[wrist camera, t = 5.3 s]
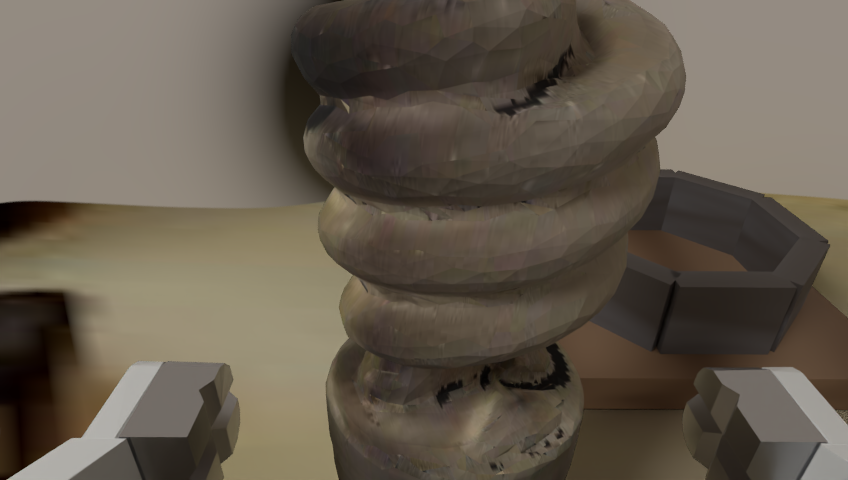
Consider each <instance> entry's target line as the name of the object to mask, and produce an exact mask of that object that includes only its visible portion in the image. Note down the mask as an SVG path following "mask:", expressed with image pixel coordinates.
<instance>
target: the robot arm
mask: <svg viewBox="0 0 848 480" xmlns="http://www.w3.org/2000/svg"><path fill="white" fill-rule="evenodd" d="M232 382H233V376H232V373H231V369H230V366H229V365H227V364H225V363H202V362H172V361H168V362H152V361H138V362H136V363H134V364H133V365H131V366H130V367H129V368H128V370H127V371H126V373H125V374H124V376H123V377H122V379H121V380H120V382H119V383H118V385H117V386H116V388H115V389H114V391H113V392H112V393H111V395H110V396H109V398H108V399H107V401H106V402H105V404H104V405H103V407H102V408H101V410H100V411H99V413H98V414H97V416H96V417H95V419H94V420H93V422H92V423H91V425H90V426H89V427H88V429H87V430H86V432H85V433H84V435H83V436H82V438H71V439H70V440H68V441H67V442H65V443H64V444H62V445H60V446H59V447H57V448H56V449H54V450H53V451H51V452H49V453H48V454H46V455H45V456H43V457H42V458H40V459H39V460H37V461H35V462H34V463H32V464H31V465H29V466H28V467H26V468H25V469H23V470H21V471H20V472H18V473H17V474H15V475H14V476H12V477H11V478H9V479H7V480H223V479H224V476H223V472H222V468H221V463H223V462H224V461H225V460H226V459H227V458H228V457H230V456H231V455H232V454H233V451H234V448H235V445H236V442H237V439H238V433H239V426H240V408H239V403H238V399H237V398H236V397H235V396H234V395H233V394H232V393H230V392H229V390H230V387H231V385H232ZM694 386H695V388H696V389H697V391H698V393H699V394H697V395H696V396H695V397H693V398H692V399H691V400H689V401H688V402H687V403H686V406H685V409H684V413H683V416H682V422H683V434H684V438H685V441H686V445H687V447H688V449H689V451H690V453H691V455H692V457H693V458H694V459H695V460H697V461H698V462H699V463H701V464H702V465H703V466H704V467H706V468H707V469H708V470H707V474H706V478H705V480H848V425H847V424H846V423H845V421H844V420H843V419H842V418H841V417H840V416H839V414H838V413H837V412H836V411H835V410H834V409H833V408H832V406H831V405H830V404H829V403H828V402H827V401H826V400H825V398H824V397H823V396H822V395H821V394H820V393H819V391H818V390H817V389H816V388H815V387H814V386H813V385H812V383H811V382H810V381H809V380H808V379H807V378H806V377H805V375H804V374H803V373H802V372H800V371H799V370H797V369H795V368H793V367H762V368H758V367H704V368H703V369H702V370H700V371H699V372H698V373H697V376H696V379H695V381H694Z"/></svg>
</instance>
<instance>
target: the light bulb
mask: <svg viewBox="0 0 848 480" xmlns="http://www.w3.org/2000/svg"><path fill="white" fill-rule="evenodd" d="M291 43H292V44H291V45H292V56H293V58H294V59H295V61H296V63H297V65H298V67H299V69H300V71H301V73H302V75H303V77H304V78H305V79H306V81H307V82H308V83H309V84H310V85H311V86H312V87H313V88H314V89H315V91H316V92H317V93H318V94H319V95H320V100H321V104H320V105H319V106H318V108H317V109H316V110H315V111H314V112H313V114H312V115H311V116H310V117H309V119H308V121H307V124H306V128H305V132H304V148H305V153H306V155H307V157H308V159H309V161H310V162H311V164H312V166H313V167H314V169H315V170H316V171H317V172H318V173H319V174H320V175H321V176H322V177H323V178H324V179H325V180H326V181H328V182H329V183H330V184H331V185H333V186H334V189H333V190H332V192H331V194H330V195H329V197H328V198H327V200H326V201H325V203H324V205H323V207H322V209H321V211H320V213H319V218H318V233H319V237H320V241H321V242H322V244H323V246H324V248H325V250H326V252H327V253H328V255H329V256H330V257H331V258H332V259H333V260H334V261H335V262H336V263H337V264H338V265H340V266H341V267H343V268H344V269H345V270H347V271H348V272H350V273H351V274H352V275H353V276H352V278H351V279H350V281H349V282H348V284H347V285H346V287H345V288H344V291H343V294H342V296H341V300H340V305H339V310H340V314H341V318H342V322H343V325H344V328H345V331H346V333H347V335H348V337H349V339H348V340H347V341H346V342H345V343H344V344H343V345H342V347H341V348H340V349H339V351H338V353H337V355H336V356H335V358H334V360H333V361H332V364H331V367H330V371H329V374H328V378H327V381H326V400H327V412H328V421H329V431H330V437H331V440H332V444H333V451H334V460H335V465H336V469H337V474H338V478H339V480H565V478H566V476H567V473H568V470H569V468H570V465H571V461H572V457H573V454H574V450H575V446H576V443H577V439H578V433H579V429H580V425H581V421H582V417H583V409H584V394H583V387H582V384H581V380H580V377H579V374H578V372H577V370H576V368H575V366H574V365H573V363H572V361H571V359H570V357H569V355H568V353H567V352H566V351H565V349H564V348H563V347H562V346H561V345H560V343H559V342H558V340H560V339H562V338H564V337H565V336H567V335H569V334H570V333H572V332H574V331H575V330H577V329H579V328H581V327H582V326H583V325H584V324H586V323H587V322H588V321H589V320H590V319H592V318H593V317H594V316H595V315H596V314H598V313H599V312H600V311H601V310H602V309H603V308H604V306H605V305H606V304H607V303H608V301H609V300H610V299H611V298H612V296H613V295H614V294H615V292H616V290H617V288H618V285H619V283H620V281H621V278H622V276H623V274H624V271H625V269H626V266H627V251H628V231H629V230H630V229H631V228H632V227H633V226H634V225H635V224H636V223H637V222H638V221H639V220H640V219H641V218H642V216H643V214H644V212H645V211H646V209H647V207H648V206H649V204H650V202H651V200H652V199H653V196H654V192H655V189H656V185H657V181H658V178H659V174H660V162H659V152H658V145H657V140H656V138H655V136H657V135H658V134H659V133H660V132H661V131H662V130H663V129H665V128H666V127H667V125H668V123H669V122H670V120H671V119H672V117H673V116H674V114H675V113H676V111H677V110H678V108H679V106H680V103H681V100H682V98H683V95H684V91H685V82H686V73H685V69H684V64H683V59H682V54H681V50H680V48H679V47H678V45H677V43H676V41H675V40H674V38H673V36H672V35H671V33H670V32H669V30H668V29H667V27H666V26H665V24H663V23H662V22H661V21H659V20H658V19H657V18H655V17H654V16H653V15H651V14H650V13H649V12H647V11H645V10H644V9H642V8H641V7H639V6H637V5H636V4H635V3H633V2H631V1H630V0H344V1H338V2H334V3H329V4H323V5H318V6H314V7H313V8H311V9H310V10H308V11H307V12H306V13H304V14H303V15H301V16H300V17H299V19H298V21H297V23H296V24H295V27H294V29H293V32H292V34H291Z"/></svg>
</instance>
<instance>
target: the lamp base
mask: <svg viewBox="0 0 848 480" xmlns="http://www.w3.org/2000/svg"><path fill="white" fill-rule="evenodd" d="M827 243H828V240H827V239H825V238H824V237H823V236H821V235H820V234H819V233H817V232H816V231H815V230H813V229H812V228H811V227H809V226H808V225H807V224H805V223H804V222H803V221H801V220H800V219H799V218H798V217H796V216H795V215H794V214H792V213H791V212H790V211H788V210H787V209H786V208H784V207H783V206H782V205H780V204H779V203H778V202H776V201H775V200H774V199H772V198H771V197H764V194H761V193H757V192H753V191H750V190H746V189H743V188H739V187H736V186H732V185H728V184H725V183H721V182H717V181H714V180H710V179H707V178H703V177H700V176H696V175H692V174H689V173H685V172H682V171H677V172H676V173H675V172H674V171H673V170H660V174H659V178H658V181H657V185H656V189H655V192H654V196H653V199H652V200H651V202H650V204H649V206H648V207H647V209H646V211H645V212H644V214H643V216H642V218H641V219H640V220H639V221H638V222H637V223H636V224H635V225H634V226H633V227H632V228H631V229H630V230H629V231H628V251H627V266H626V269H625V271H624V274H623V276H622V278H621V281H620V283H619V285H618V288H617V290H616V292H615V294H614V295H613V296H612V298H611V299H610V300H609V301H608V303H607V304H606V305H605V306H604V308H603V309H602V310H601V311H600V312H599V313H598V314H596V315H595V316H594V317H593V318H592V319H590V320H589V321H588V322H587V323H586V324H584V325H583V326H582V327H581V328H579V329H577V330H575V331H574V332H572V333H570V334H569V335H567V336H565V337H564V338H562V339H560V340H558V342H559V343H560V345H561V346H562V347H563V348H564V349H565V351H566V352H567V353H568V355H569V357H570V359H571V361H572V363H573V365H574V366H575V368H576V370H577V372H578V374H579V377H580V380H581V384H582V387H583V394H584V409H685V406H686V403H687V402H688V401H689V400H691V399H692V398H693V397H695V396H696V395H697V394H699V393H698V391H697V389H696V388H695V386H694V381H695V379H696V376H697V373H698V372H699V371H700V370H702V369H703V368H704V367H758V368H762V367H793V368H795V369H797V370H799V371H800V372H802V373H803V374H804V375H805V377H806V378H807V379H808V380H809V381H810V382H811V383H812V385H813V386H814V387H815V388H816V389H817V390H818V391H819V393H820V394H821V395H822V396H823V397H824V398H825V400H826V401H827V402H828V403H829V404H830V405H831V406H832V408H833V409H834V410H848V318H847V317H846V316H845V315H843V314H842V313H841V312H840V311H839V310H838V309H837V308H836V307H835V306H834V305H832V304H831V303H830V302H829V301H828V300H827V299H826V298H825V297H824V296H822V295H821V294H820V293H819V292H818V291H817V290H816V289H815V288H814V287H812V284H813V282H814V280H815V278H816V276H817V273H818V271H819V269H820V267H821V264H822V262H823V260H824V258H825V256H826V253H827V251H828V249H829V247H830V244H827Z"/></svg>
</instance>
